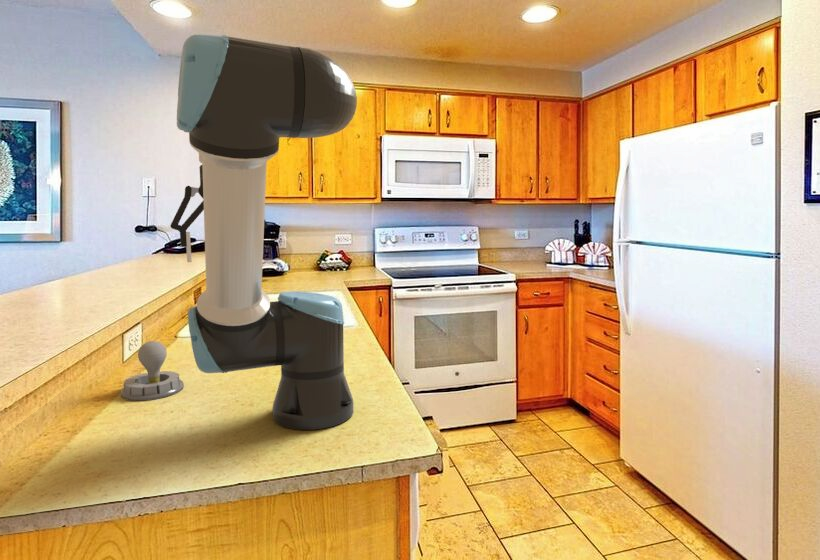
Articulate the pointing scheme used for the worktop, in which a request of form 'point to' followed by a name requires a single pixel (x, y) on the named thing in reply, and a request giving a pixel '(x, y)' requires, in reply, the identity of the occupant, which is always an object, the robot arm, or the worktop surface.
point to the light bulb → (152, 359)
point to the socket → (151, 387)
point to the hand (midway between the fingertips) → (222, 260)
